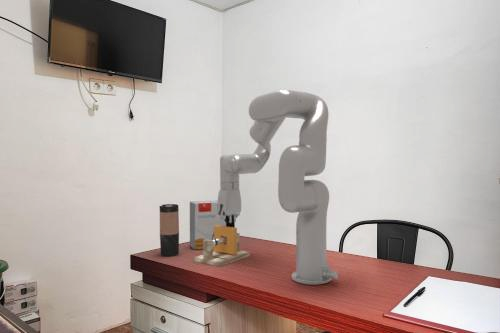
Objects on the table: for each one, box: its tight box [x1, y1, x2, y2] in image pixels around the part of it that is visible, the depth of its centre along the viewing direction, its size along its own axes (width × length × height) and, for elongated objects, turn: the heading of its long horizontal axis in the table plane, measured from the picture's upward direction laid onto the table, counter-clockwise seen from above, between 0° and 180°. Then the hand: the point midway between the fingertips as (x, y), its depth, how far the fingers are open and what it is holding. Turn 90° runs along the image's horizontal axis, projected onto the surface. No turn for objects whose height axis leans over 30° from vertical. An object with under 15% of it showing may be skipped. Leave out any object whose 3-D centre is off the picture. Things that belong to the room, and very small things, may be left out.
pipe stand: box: [193, 232, 251, 267], centre depth 150 cm, size 13×18×8 cm
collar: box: [213, 225, 238, 255], centre depth 151 cm, size 10×2×10 cm, turn 54°
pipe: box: [213, 236, 227, 246], centre depth 150 cm, size 3×17×3 cm, turn 144°
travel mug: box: [159, 203, 180, 257], centre depth 157 cm, size 8×8×20 cm
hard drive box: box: [189, 199, 227, 250], centre depth 170 cm, size 16×8×20 cm, turn 113°
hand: (230, 232), depth 154 cm, fingers closed
